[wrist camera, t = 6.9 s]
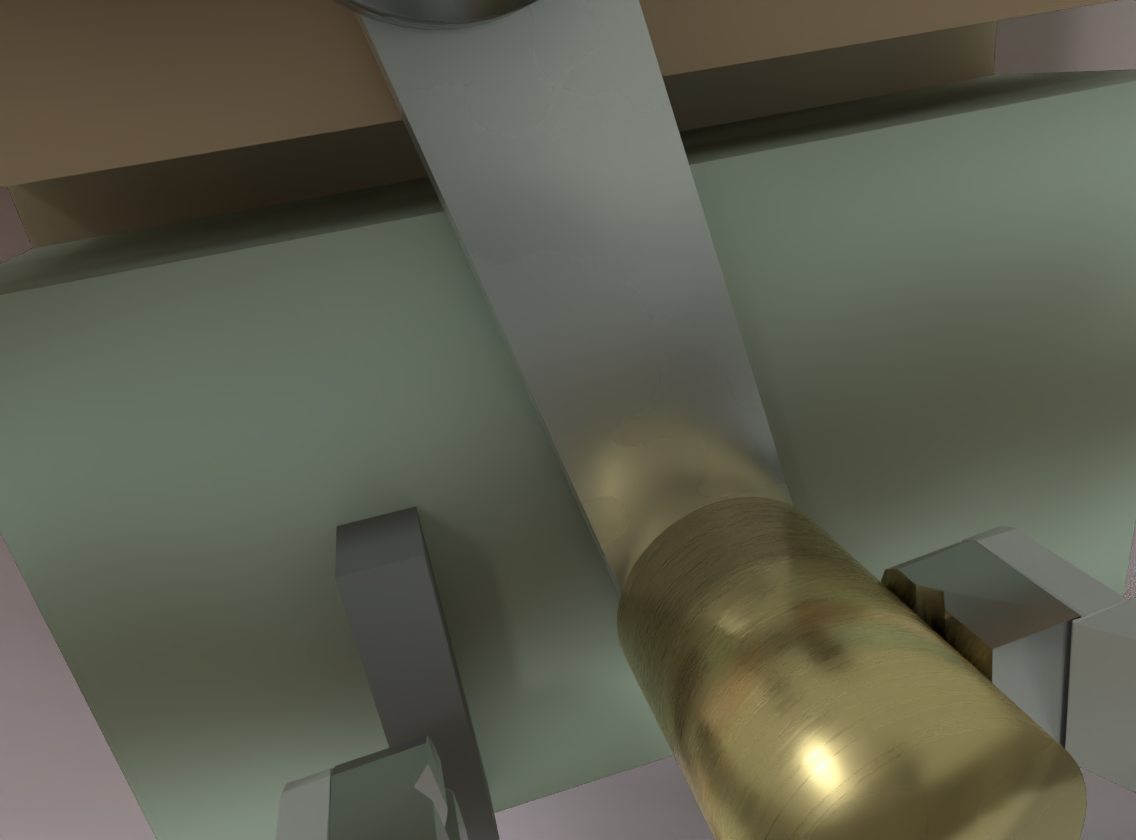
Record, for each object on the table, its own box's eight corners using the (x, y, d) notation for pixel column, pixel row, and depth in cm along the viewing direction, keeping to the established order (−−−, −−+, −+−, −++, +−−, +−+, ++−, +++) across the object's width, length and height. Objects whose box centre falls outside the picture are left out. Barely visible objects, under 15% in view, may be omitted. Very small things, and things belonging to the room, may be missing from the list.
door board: (-198, -427, 10) (-1108, -1302, 4) (959, -478, 12) (1536, -1028, 6) (239, 667, 17) (176, 993, 10) (922, 479, 19) (1184, 652, 13)
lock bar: (104, -356, 6) (-487, -1450, 2) (512, -511, 7) (855, -1792, 2) (617, 693, 12) (786, 1065, 7) (833, 583, 12) (1126, 874, 7)
